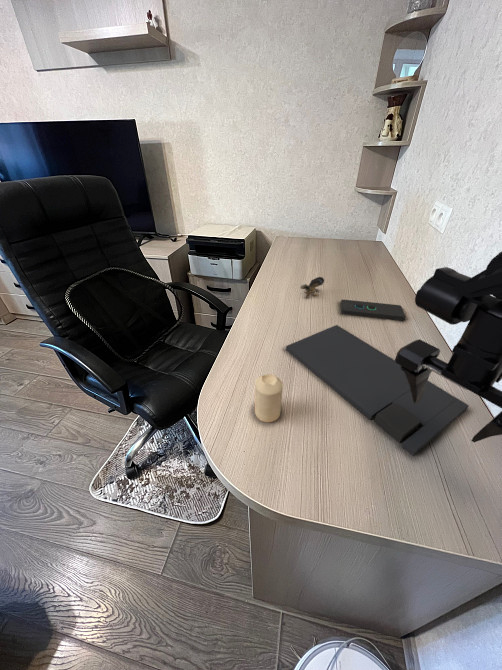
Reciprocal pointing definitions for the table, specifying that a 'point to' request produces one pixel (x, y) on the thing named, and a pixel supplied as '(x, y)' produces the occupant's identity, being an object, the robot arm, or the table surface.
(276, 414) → the candle
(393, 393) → the mat
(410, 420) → the black block
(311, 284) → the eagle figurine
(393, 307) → the smart home device
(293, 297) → the table surface
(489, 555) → the table surface
